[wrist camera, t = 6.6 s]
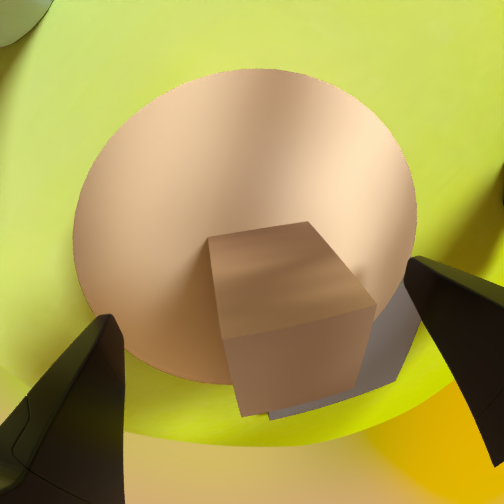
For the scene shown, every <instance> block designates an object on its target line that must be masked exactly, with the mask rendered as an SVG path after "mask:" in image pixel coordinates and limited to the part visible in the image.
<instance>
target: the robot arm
mask: <svg viewBox="0 0 504 504" xmlns="http://www.w3.org/2000/svg"><path fill="white" fill-rule="evenodd" d="M503 204H504V202H503ZM403 282H404V286H405V288H406V290H407V292H408V294H409V296H410V298H411V300H412V302H413V304H414V306H415V308H416V310H417V312H418V314H419V316H420V318H421V320H422V322H423V323H424V325H425V327H426V329H427V330H428V332H429V334H430V335H431V337H432V339H433V340H434V342H435V344H436V346H437V347H438V349H439V351H440V353H441V354H442V356H443V358H444V360H445V362H446V363H447V365H448V367H449V369H450V371H451V373H452V374H453V376H454V378H455V380H456V382H457V384H458V386H459V388H460V390H461V392H462V394H463V396H464V398H465V400H466V402H467V404H468V406H469V408H470V411H471V413H472V415H473V417H474V419H475V422H476V424H477V426H478V429H479V431H480V433H481V436H482V438H483V441H484V443H485V445H486V448H487V450H488V453H489V456H490V458H491V461H492V464H493V465H494V467H496V466H498V465H499V464H501V463H502V462H504V287H502V286H499V285H497V284H494V283H492V282H489V281H487V280H484V279H482V278H479V277H477V276H474V275H471V274H469V273H466V272H464V271H461V270H458V269H456V268H453V267H450V266H447V265H445V264H442V263H439V262H436V261H434V260H431V259H428V258H425V257H422V256H415V257H411V258H409V260H408V261H407V265H406V270H405V274H404V279H403ZM124 402H125V363H124V337H123V334H122V332H121V330H120V328H119V326H118V324H117V322H116V320H115V318H114V316H113V315H112V314H102V315H98V316H97V317H96V318H95V319H94V320H93V321H92V322H91V323H90V324H89V325H88V327H87V328H86V329H85V330H84V331H83V332H82V333H81V334H80V335H79V336H78V337H77V338H76V339H75V340H74V341H73V343H72V344H71V345H70V346H69V347H68V348H67V349H66V350H65V351H64V352H63V353H62V355H61V356H60V357H59V358H58V359H57V360H56V361H55V362H54V363H53V365H52V366H51V367H50V368H49V369H48V370H47V371H46V373H45V374H44V375H43V376H42V377H41V378H40V380H39V381H38V382H37V383H36V384H35V385H34V387H33V388H32V389H31V390H30V391H29V393H28V394H27V396H25V397H24V398H23V400H22V401H21V402H20V403H19V405H18V406H17V407H16V408H15V409H14V411H13V412H12V413H11V414H10V415H9V417H8V418H7V419H6V420H5V421H4V422H3V423H2V424H1V426H0V504H125V496H124V474H123V425H124Z"/></svg>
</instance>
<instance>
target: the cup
mask: <svg viewBox="0 0 504 504" xmlns="http://www.w3.org/2000/svg"><path fill="white" fill-rule="evenodd" d="M52 2H53V0H0V47H4V46H8V45H10V44H12V43H14V42H16V41H17V40H19V39H20V38H21V37H23V36H24V35H25V34H27V33H28V32H29V31H30V30H31V29H32V28H33V27H34V26H35V25H36V24H37V23H38V22H39V20H40V19H41V18H42V17H43V16H44V14H45V13H46V12H47V10H48V8H49V7H50V5H51V3H52Z"/></svg>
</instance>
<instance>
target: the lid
mask: <svg viewBox="0 0 504 504" xmlns="http://www.w3.org/2000/svg"><path fill="white" fill-rule="evenodd" d="M416 225H417V204H416V196H415V189H414V184H413V180H412V176H411V173H410V170H409V166H408V164H407V162H406V159H405V157H404V155H403V153H402V151H401V149H400V147H399V145H398V144H397V142H396V140H395V139H394V137H393V136H392V134H391V133H390V131H389V130H388V129H387V127H386V126H385V125H384V124H383V123H382V122H381V121H380V120H379V118H378V117H377V116H376V115H375V114H374V113H373V112H372V111H371V110H369V109H368V108H367V107H366V106H365V105H363V104H362V103H361V102H360V101H358V100H357V99H356V98H354V97H353V96H351V95H350V94H348V93H346V92H344V91H343V90H341V89H339V88H337V87H335V86H333V85H332V84H329V83H327V82H324V81H321V80H319V79H316V78H313V77H310V76H307V75H304V74H299V73H294V72H288V71H282V70H276V69H241V70H234V71H227V72H221V73H215V74H212V75H208V76H205V77H202V78H199V79H196V80H193V81H190V82H187V83H184V84H182V85H180V86H178V87H176V88H174V89H172V90H170V91H168V92H166V93H165V94H163V95H161V96H159V97H157V98H155V99H154V100H153V101H151V102H150V103H148V104H147V105H146V106H144V107H143V108H142V109H140V110H139V111H138V112H137V113H135V114H134V115H133V116H131V117H130V118H129V119H128V120H127V121H126V122H125V123H124V124H123V125H122V126H121V127H120V128H119V130H118V131H117V132H116V133H115V134H114V135H113V136H112V137H111V138H110V139H109V141H108V142H107V143H106V145H105V146H104V148H103V149H102V151H101V152H100V154H99V155H98V157H97V158H96V160H95V161H94V163H93V165H92V167H91V169H90V171H89V173H88V176H87V178H86V180H85V182H84V184H83V187H82V189H81V193H80V197H79V200H78V204H77V208H76V212H75V219H74V228H73V252H74V262H75V267H76V271H77V276H78V280H79V283H80V286H81V288H82V291H83V293H84V296H85V298H86V301H87V303H88V304H89V306H90V308H91V310H92V311H93V313H94V315H95V317H97V316H98V315H102V314H112V315H113V316H114V318H115V320H116V322H117V324H118V326H119V328H120V330H121V332H122V334H123V337H124V349H126V350H127V351H128V352H130V353H131V354H132V355H134V356H135V357H136V358H138V359H140V360H141V361H143V362H145V363H147V364H148V365H150V366H152V367H154V368H156V369H158V370H161V371H163V372H165V373H168V374H171V375H174V376H177V377H180V378H183V379H187V380H192V381H197V382H201V383H210V384H223V385H233V387H234V391H235V395H236V399H237V403H238V406H239V410H240V414H241V417H246V416H251V415H256V414H261V413H266V412H271V411H275V410H280V409H284V408H288V407H292V406H296V405H300V404H304V403H308V402H311V401H315V400H318V399H322V398H325V397H329V396H332V395H335V394H338V393H341V392H344V391H347V390H350V389H353V388H354V386H355V383H356V380H357V377H358V374H359V370H360V367H361V364H362V361H363V357H364V354H365V350H366V347H367V343H368V340H369V336H370V332H371V328H372V324H373V322H374V321H375V319H376V318H377V317H378V316H379V314H380V313H381V312H382V311H383V309H384V308H385V307H386V305H387V304H388V302H389V301H390V299H391V298H392V296H393V295H394V293H395V292H396V290H397V288H398V286H399V284H400V282H401V280H402V278H403V276H404V273H405V270H406V265H407V261H408V260H409V258H410V257H411V253H412V249H413V245H414V240H415V233H416Z"/></svg>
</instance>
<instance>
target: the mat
mask: <svg viewBox="0 0 504 504" xmlns="http://www.w3.org/2000/svg"><path fill="white" fill-rule="evenodd" d="M404 274H405V273H404ZM403 279H404V276H403V278H402V280H401V282H400V284H399V286H398V288H397V290H396V292H395V293H394V295H393V296H392V298H391V299H390V301H389V302H388V304H387V305H386V307H385V308H384V309H383V311H382V312H381V313H380V314H379V316H378V317H377V318H376V319H375V321H374V322H373V324H372V328H371V332H370V336H369V340H368V343H367V347H366V350H365V354H364V357H363V361H362V364H361V367H360V370H359V374H358V377H357V380H356V383H355V386H354V388H353V389H350V390H347V391H344V392H341V393H338V394H335V395H332V396H329V397H325V398H322V399H318V400H315V401H311V402H308V403H304V404H300V405H296V406H292V407H288V408H284V409H280V410H275V411H271V412H268V416H269V420H275V419H279V418H283V417H287V416H292V415H295V414H299V413H303V412H307V411H310V410H314V409H318V408H321V407H324V406H328V405H331V404H334V403H337V402H340V401H343V400H346V399H349V398H352V397H355V396H358V395H361V394H364V393H366V392H369V391H372V390H374V389H377V388H379V387H382V386H384V385H387V384H389V383H392V382H394V381H396V378H397V376H398V374H399V372H400V370H401V368H402V365H403V363H404V361H405V359H406V356H407V354H408V352H409V349H410V347H411V345H412V342H413V340H414V337H415V335H416V332H417V330H418V327H419V324H420V322H421V318H420V316H419V314H418V312H417V310H416V308H415V306H414V304H413V302H412V300H411V298H410V296H409V294H408V292H407V290H406V288H405V286H404V282H403Z"/></svg>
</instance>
